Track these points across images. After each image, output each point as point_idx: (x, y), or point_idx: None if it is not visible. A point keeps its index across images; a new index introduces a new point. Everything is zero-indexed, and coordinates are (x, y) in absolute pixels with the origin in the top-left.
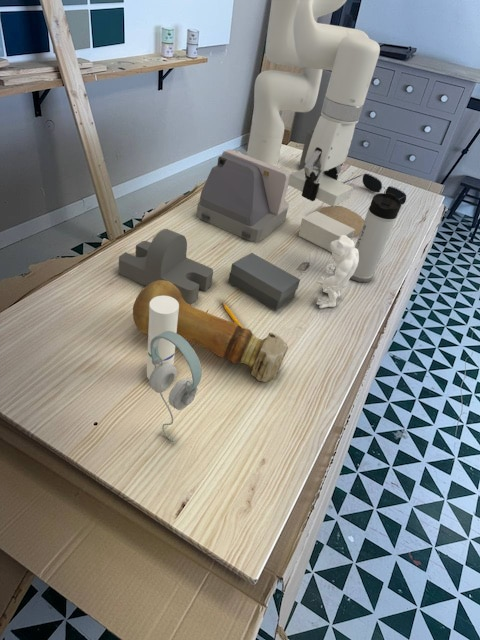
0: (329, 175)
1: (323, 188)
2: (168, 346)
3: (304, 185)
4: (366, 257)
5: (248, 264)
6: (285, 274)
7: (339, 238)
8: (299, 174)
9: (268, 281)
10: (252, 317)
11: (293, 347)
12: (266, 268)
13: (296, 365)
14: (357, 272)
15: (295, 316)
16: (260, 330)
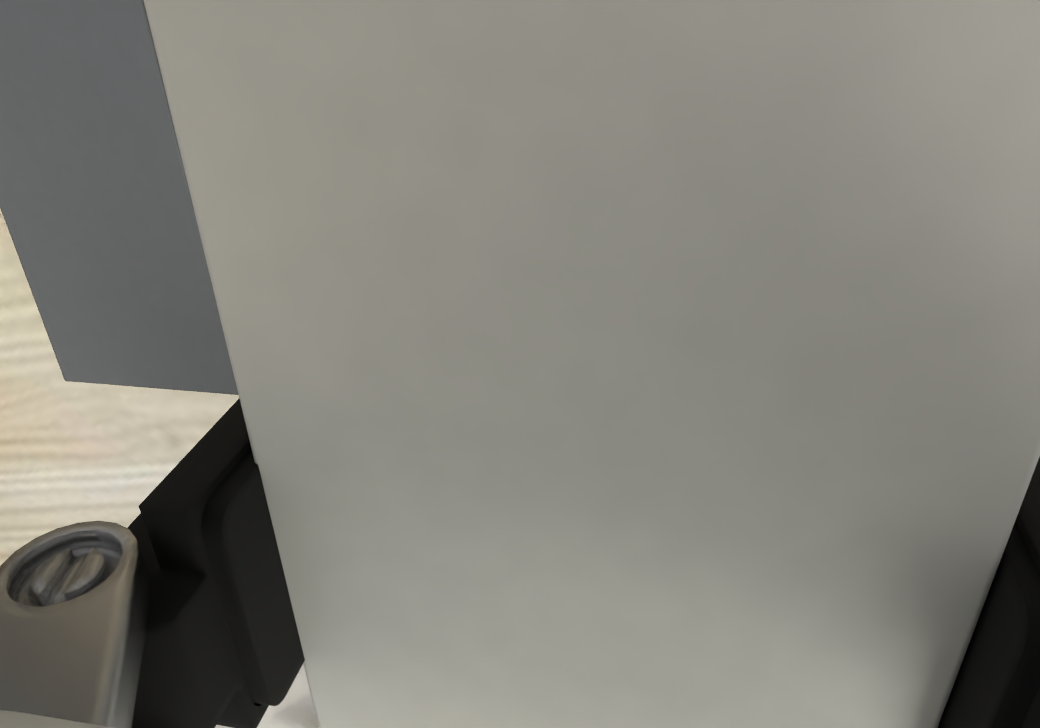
0: (974, 692)
1: (352, 716)
2: None
3: (225, 422)
4: None
5: (25, 79)
6: (191, 312)
7: (278, 718)
8: (378, 170)
9: (49, 281)
10: (17, 263)
11: (76, 468)
12: (116, 194)
13: (33, 510)
14: None
15: (206, 394)
16: (7, 335)
